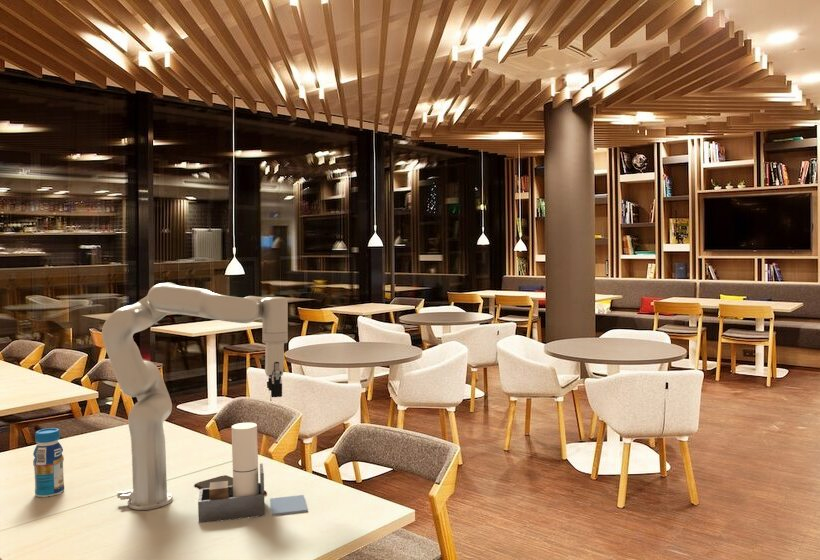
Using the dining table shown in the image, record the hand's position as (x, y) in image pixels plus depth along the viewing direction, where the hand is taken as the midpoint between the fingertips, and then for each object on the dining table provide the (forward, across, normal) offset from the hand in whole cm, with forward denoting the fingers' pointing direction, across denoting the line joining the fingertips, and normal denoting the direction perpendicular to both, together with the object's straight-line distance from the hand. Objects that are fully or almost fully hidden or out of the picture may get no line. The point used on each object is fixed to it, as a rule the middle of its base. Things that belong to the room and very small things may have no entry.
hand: (275, 393), depth 200 cm
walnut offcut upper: (+28, +8, -17) cm, 34 cm away
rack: (+32, +8, -13) cm, 36 cm away
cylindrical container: (+32, +8, -9) cm, 35 cm away
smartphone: (+33, -11, -13) cm, 37 cm away
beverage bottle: (+34, -27, -68) cm, 80 cm away
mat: (+32, +9, +3) cm, 33 cm away
